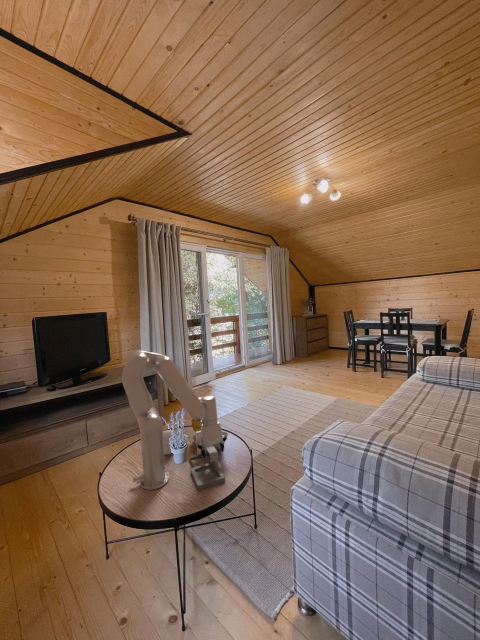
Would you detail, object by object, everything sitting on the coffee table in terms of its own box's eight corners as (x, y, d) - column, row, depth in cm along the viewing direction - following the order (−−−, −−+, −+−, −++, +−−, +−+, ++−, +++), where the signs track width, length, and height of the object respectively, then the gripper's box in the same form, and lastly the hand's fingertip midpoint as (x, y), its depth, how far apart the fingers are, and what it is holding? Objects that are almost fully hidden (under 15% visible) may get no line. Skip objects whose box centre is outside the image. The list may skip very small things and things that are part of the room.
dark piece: (194, 471, 128) (193, 464, 128) (188, 459, 139) (188, 452, 139) (225, 461, 135) (225, 454, 135) (218, 450, 145) (218, 444, 145)
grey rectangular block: (210, 466, 132) (209, 454, 132) (206, 459, 139) (205, 447, 138) (218, 463, 134) (217, 452, 134) (213, 456, 140) (213, 445, 140)
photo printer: (176, 449, 149) (174, 428, 149) (175, 453, 145) (173, 431, 144) (156, 452, 148) (155, 430, 147) (155, 456, 144) (153, 434, 143)
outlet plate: (200, 458, 139) (198, 436, 138) (197, 453, 144) (195, 431, 143) (225, 451, 145) (223, 429, 144) (221, 446, 150) (220, 425, 149)
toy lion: (215, 444, 153) (214, 418, 152) (208, 448, 149) (206, 421, 148) (197, 436, 163) (195, 412, 162) (190, 440, 159) (188, 415, 158)
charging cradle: (198, 490, 115) (198, 485, 115) (190, 472, 128) (190, 468, 128) (224, 481, 120) (224, 476, 120) (214, 465, 133) (214, 460, 132)
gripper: (195, 428, 128) (198, 462, 130) (228, 419, 135) (231, 451, 136) (191, 422, 135) (194, 455, 136) (223, 414, 142) (226, 445, 143)
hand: (213, 453), depth 136 cm, fingers open, 9 cm apart
